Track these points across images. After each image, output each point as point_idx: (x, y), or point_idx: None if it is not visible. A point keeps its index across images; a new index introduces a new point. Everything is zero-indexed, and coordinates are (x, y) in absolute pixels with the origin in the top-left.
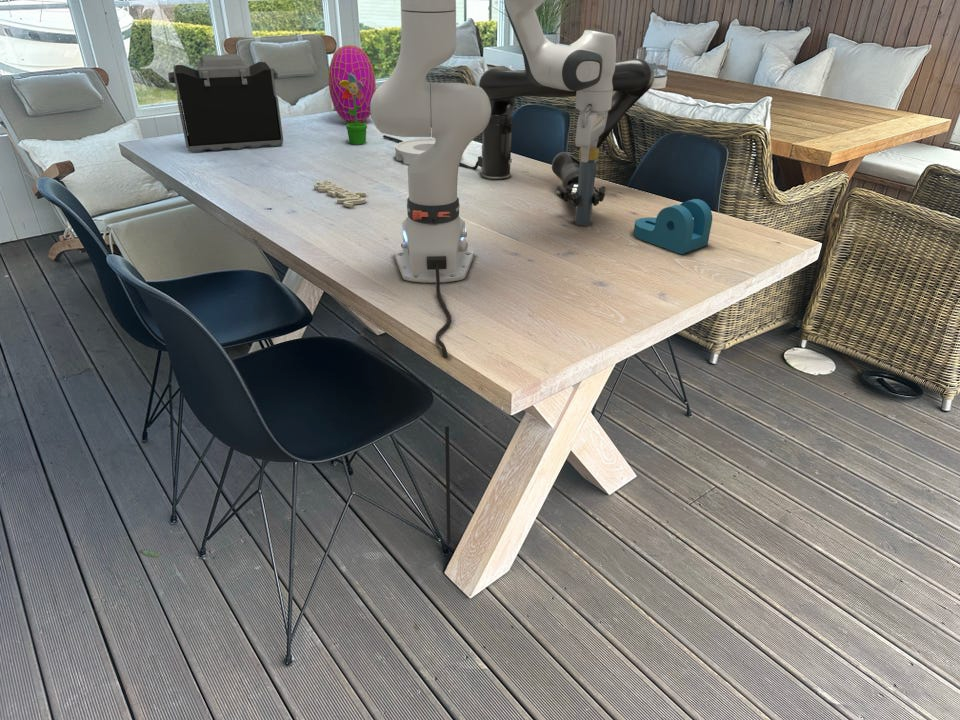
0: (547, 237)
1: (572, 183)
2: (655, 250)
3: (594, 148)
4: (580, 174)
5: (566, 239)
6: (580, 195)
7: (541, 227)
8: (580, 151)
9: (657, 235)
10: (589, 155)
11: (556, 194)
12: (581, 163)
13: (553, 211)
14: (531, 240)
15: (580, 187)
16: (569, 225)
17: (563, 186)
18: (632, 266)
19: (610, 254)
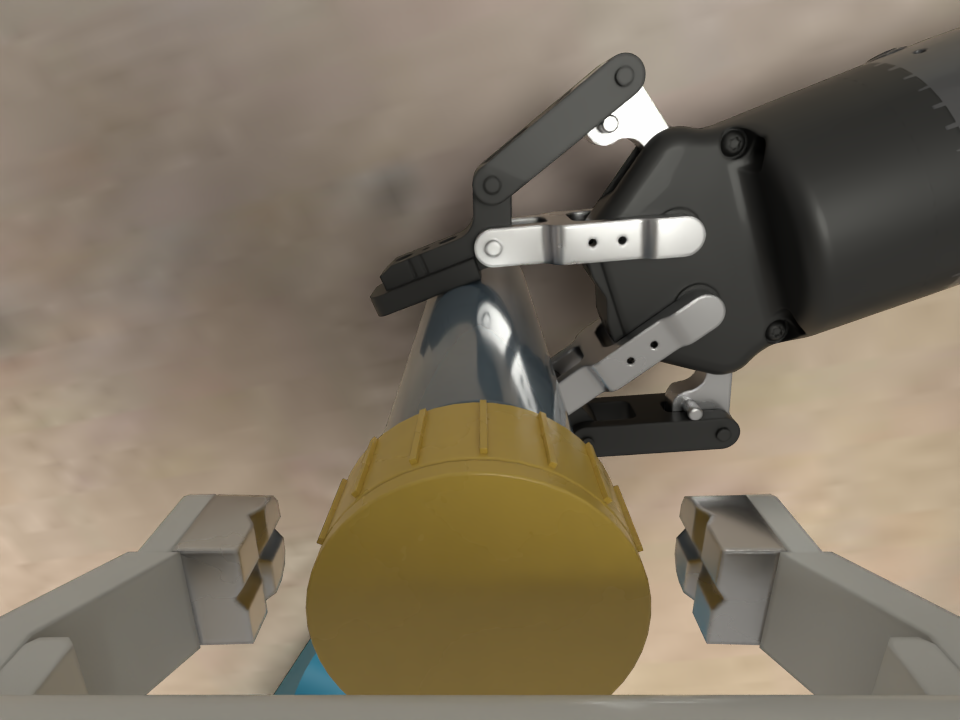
0: (144, 148)
1: (751, 179)
2: (254, 645)
3: (541, 682)
4: (411, 369)
5: (174, 264)
6: (419, 324)
7: (295, 56)
8: (367, 488)
9: (292, 682)
10: (256, 628)
11: (602, 63)
12: (393, 426)
13: (649, 46)
14: (38, 62)
15: (416, 338)
16: (409, 224)
17: (868, 61)
18: (25, 594)
19: (100, 500)
